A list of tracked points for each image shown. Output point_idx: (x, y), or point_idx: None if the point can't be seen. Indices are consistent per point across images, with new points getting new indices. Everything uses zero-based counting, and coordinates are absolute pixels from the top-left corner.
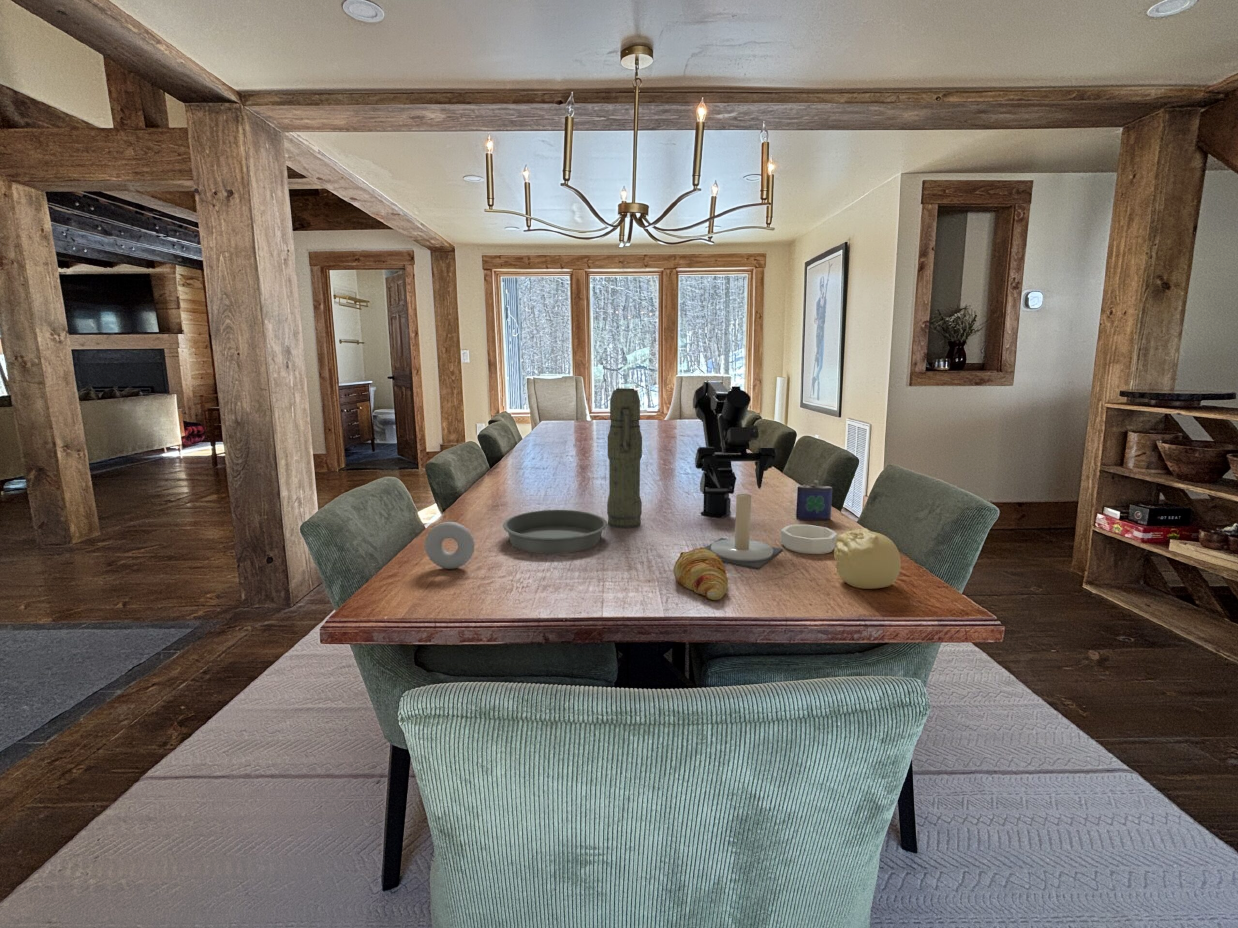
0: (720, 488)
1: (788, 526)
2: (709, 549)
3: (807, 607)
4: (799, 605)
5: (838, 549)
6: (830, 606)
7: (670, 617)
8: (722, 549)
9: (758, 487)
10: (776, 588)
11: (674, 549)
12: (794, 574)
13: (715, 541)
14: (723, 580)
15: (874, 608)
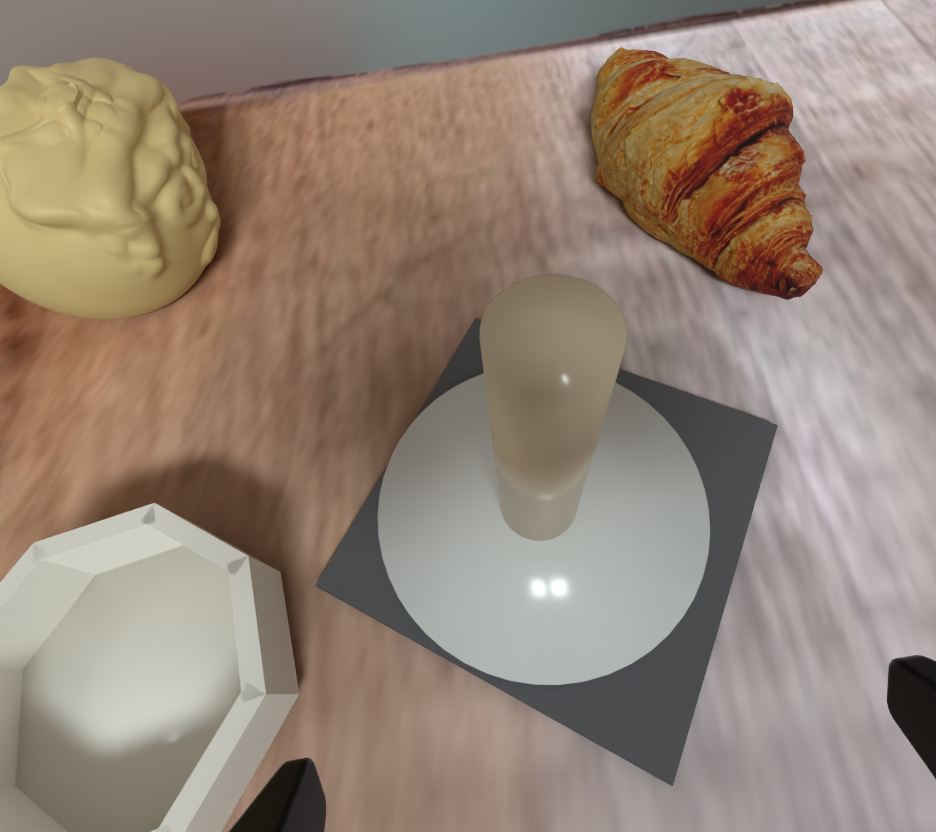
0: (893, 692)
1: (177, 815)
2: (710, 515)
3: (382, 111)
4: (400, 116)
5: (177, 147)
6: (323, 125)
7: (715, 21)
8: (639, 463)
9: (321, 810)
10: (439, 191)
11: (908, 522)
12: (352, 300)
13: (700, 682)
14: (606, 82)
15: (220, 134)
